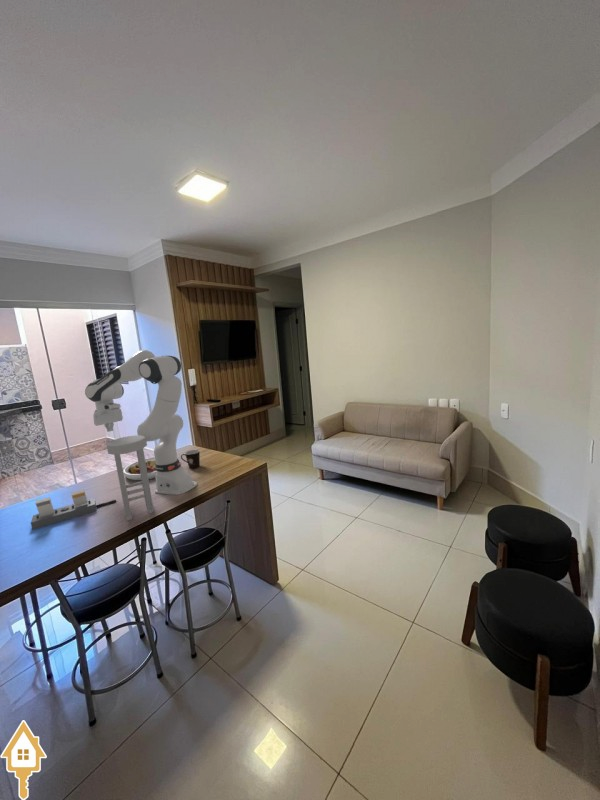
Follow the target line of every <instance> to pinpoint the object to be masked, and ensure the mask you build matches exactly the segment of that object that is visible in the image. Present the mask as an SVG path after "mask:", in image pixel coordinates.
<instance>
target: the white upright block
mask: <svg viewBox="0 0 600 800" xmlns="http://www.w3.org/2000/svg"><path fill="white" fill-rule="evenodd" d="M71 497H72V501H73V504H74V505H75V507H76V506H80V505H83V504H87V500H88V497H87V494H86V490H85V489H79V490H77V491H73V492H71Z"/></svg>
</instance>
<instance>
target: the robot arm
mask: <svg viewBox="0 0 600 800" xmlns="http://www.w3.org/2000/svg"><path fill="white" fill-rule="evenodd" d="M181 370H182V363H181V361H180V359H179V358H177V357H176V356H173V355H161V356H155V354H154V353H153V352H152V351H150V350H147V349H142V350H140V351H138V352H136V353H134V354H133V355H132V356H130V357H129V359H128V360H126V361H125V362H124V363H122V364H121V365H119V366H117V367H115V368H114V369H112V370H110V371H108V372H107V373H106V374H104V375H103V376H101V377H100V378H97V379H95V380H93V381H92V382H90V383H88V384H87V386H86V387H85V390H84V392H85V393H84V394H85V396H86V398H87V399H89V400H90V401H92V402H93V403H94V404H95V408H96V409H95V410H94V411H93V423H94V426H102V425H103V426H104V428H105V429H106V431H107V433H108V432H114V423H116V422H117V423H118V422H122V421H123V418H124V416H123V412H122V409H121V407H122V406H121V404H120V403H116V402H114V400H117V399H118V400H119V399H121V398H122V397H123V396H124V394H125V389H124V386H123V385H122V383H129V382H135V381H139V380H141V379H144V380H146V381H149V382H150V383H151V384H153V385H158V388H157V394H156V397H155V401H154V404H153V408H152V409H151V411H150V413H149V414H148V415H147V417H146V418H145V420H143V422H141V423H140V424H139V425H138V426H137V430H136V432H137V434H136V435H140V436H145V438H146V442H154V441H157V440H159V441H158V443H157V444H156V445H155V447H154V449H153V455H154V456H153V457H155V462H156V463H155V468H156V471H157V474H156V478H155V486H156V487H155V490H154V493H155V494H161V495H163V494H164V495H172V496H173V495H175V496H179V495H182V494H185V493H186V492H188V491H190V490H192V489H194V488H195V487H197V485H198V482H196V481H194V480H192V475H191V474H190V472H189V471H187V470H186V469H184V467H182V462H181V461H180V459H179V458H178V454H177V453H178V452H177V440H178V436H179V434H180V432H181V431H182V429H183V427H184V420H183V419H182V417H181V416H180V415H179V414H176V412H177V411H178V407H179V403H180V399H181V395H182V384H183V383H182V380H181V379H180V378H179V377H178V376H177V375H178V374H179V373H180V372H181Z"/></svg>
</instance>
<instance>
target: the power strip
mask: <svg viewBox="0 0 600 800" xmlns="http://www.w3.org/2000/svg"><path fill="white" fill-rule="evenodd" d="M113 503H117V500H116V499H113V500H110V501H109V500H108V501H106V502H103V503H98V504H97V502H96V498H95V497H93V498H89V499H87V504H83V505H80V506H76V507H75V505H74V503H72V504H70V505H65V506H62V507H58V508H55V509H54V508H53V509H54V513H51V514H47V515H44V516H40V515H39V513H37V514H33V516H32V519H31V521H30V525H31V530H32V531H34V530H38V529H41V528H44V527H47V526H51V525H55V524H57V523H61V522H63V521H66V520H67V521H68V520H71V519H74V518H77V517H80V516H85V515H87V514H90V513H94V512H97V508H100V507H103V506H107V505H110V504H113Z"/></svg>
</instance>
